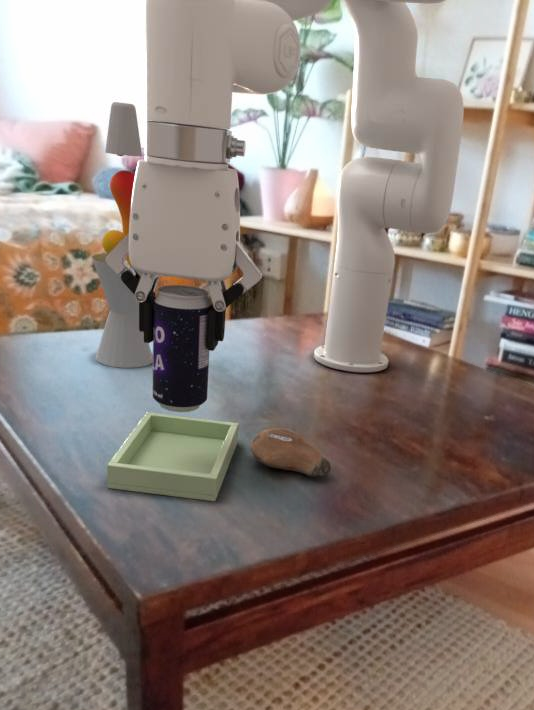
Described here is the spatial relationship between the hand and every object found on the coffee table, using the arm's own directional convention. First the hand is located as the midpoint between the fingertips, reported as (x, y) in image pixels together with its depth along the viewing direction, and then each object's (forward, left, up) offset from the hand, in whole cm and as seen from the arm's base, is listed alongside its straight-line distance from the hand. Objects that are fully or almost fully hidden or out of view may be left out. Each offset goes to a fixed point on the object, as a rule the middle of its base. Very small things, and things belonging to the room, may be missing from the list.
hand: (181, 341), depth 71 cm
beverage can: (0, 0, -7) cm, 7 cm away
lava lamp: (-34, -16, -14) cm, 40 cm away
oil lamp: (-3, +12, -14) cm, 19 cm away
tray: (0, 0, -14) cm, 14 cm away
